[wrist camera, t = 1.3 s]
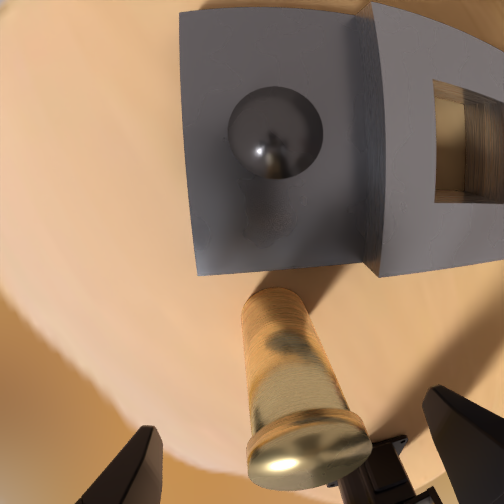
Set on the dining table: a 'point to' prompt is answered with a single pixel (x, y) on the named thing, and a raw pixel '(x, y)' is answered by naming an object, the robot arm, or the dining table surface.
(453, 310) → the dining table surface
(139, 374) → the dining table surface
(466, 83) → the grey knobbed base plate
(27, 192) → the dining table surface
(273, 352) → the brass pin
